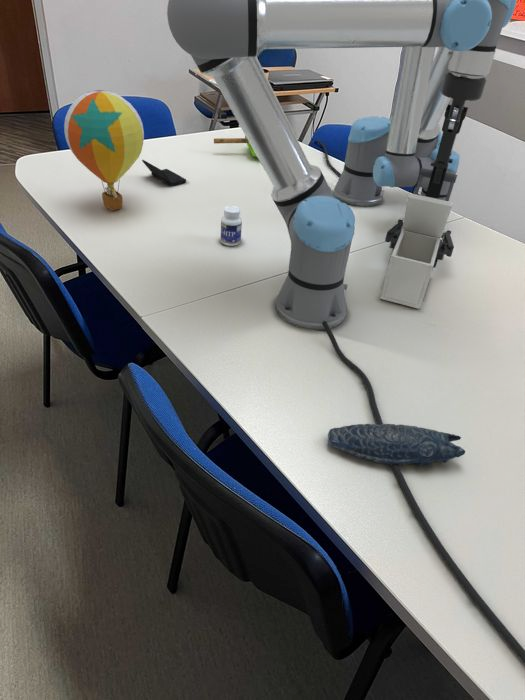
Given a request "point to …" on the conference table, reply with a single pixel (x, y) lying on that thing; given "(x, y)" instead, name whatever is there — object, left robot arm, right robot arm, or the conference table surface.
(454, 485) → the conference table surface
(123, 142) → the toy
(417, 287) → the chest
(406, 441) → the fish model
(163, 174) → the black block with spike
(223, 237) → the pill bottle
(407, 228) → the lid
